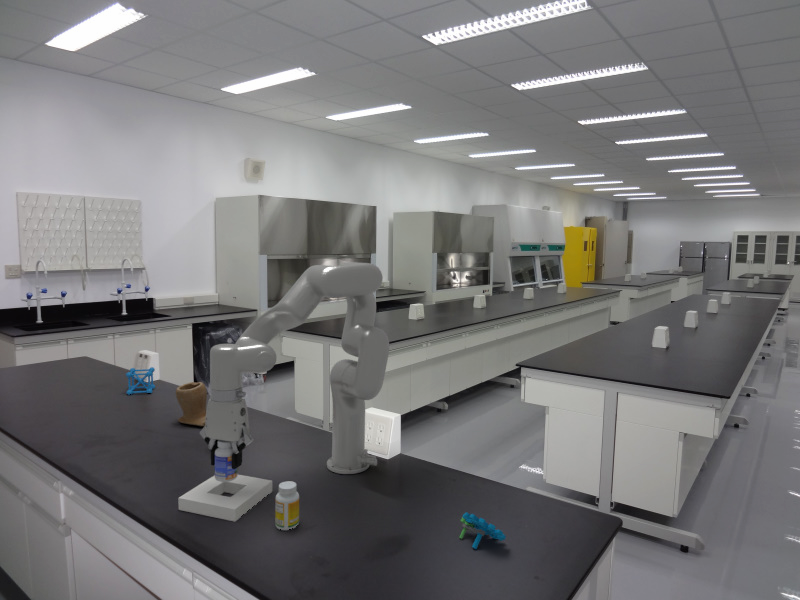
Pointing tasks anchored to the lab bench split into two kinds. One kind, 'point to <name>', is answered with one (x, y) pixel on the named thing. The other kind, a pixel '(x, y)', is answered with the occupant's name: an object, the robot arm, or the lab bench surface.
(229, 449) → the pill bottle
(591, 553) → the lab bench surface
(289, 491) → the supplement bottle
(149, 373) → the molecular structure
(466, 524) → the blue plastic legged piece
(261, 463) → the lab bench surface
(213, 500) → the white square frame
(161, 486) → the lab bench surface
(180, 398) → the tan hollow piece
